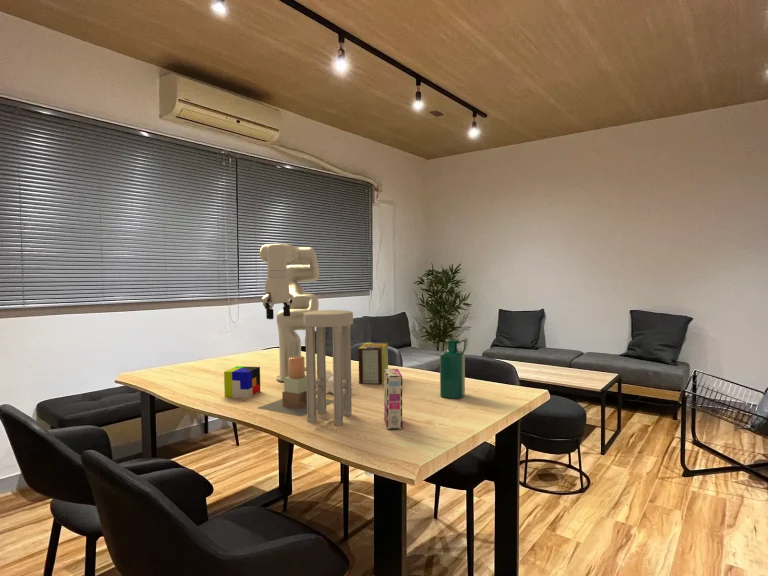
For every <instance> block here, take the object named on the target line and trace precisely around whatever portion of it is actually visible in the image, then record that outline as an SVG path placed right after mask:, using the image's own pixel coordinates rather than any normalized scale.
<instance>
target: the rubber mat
mask: <svg viewBox="0 0 768 576" xmlns="http://www.w3.org/2000/svg"><path fill="white" fill-rule="evenodd" d="M331 404H334V399H333V400H331V399H327V398H326V407H327V406H329V405H331ZM257 409H259V410H260V409H261V410H265V411H271V412H275V413H281V414H285V415H292V416H296V417H303V416H305V415H306V416H307V406H304V407H302V408H299V409H298V408H292V407H287V406H283V398H281V399H278V400H276V401H273V402H270V403H266V404H264V405H262V406H259V407H257ZM316 411H318V402H317V397H316Z"/></svg>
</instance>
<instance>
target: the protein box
mask: <svg viewBox="0 0 768 576" xmlns="http://www.w3.org/2000/svg"><path fill="white" fill-rule="evenodd" d="M388 345H389V344H388V342H365V343H363V344H362V345H361V346H359V347H358V350H357V351H358V352H357V354H358V384H360V385H362V384H363V385H384V369H389V352H388V351H389V346H388Z"/></svg>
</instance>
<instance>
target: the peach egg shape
mask: <svg viewBox="0 0 768 576" xmlns="http://www.w3.org/2000/svg"><path fill="white" fill-rule="evenodd" d="M305 367H306V360H305V356H302V355H301V356H293V357H289V378H291V379H299V378H304V377H305V375H306V373H305V372H306V371H305Z"/></svg>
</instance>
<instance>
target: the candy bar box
mask: <svg viewBox="0 0 768 576" xmlns="http://www.w3.org/2000/svg"><path fill="white" fill-rule="evenodd" d="M383 385H384V388H383V389H384V390H383V400H384V403H383V406H384V408H383V410H384V411H383V414H384V419H383V420H384V422H385V426H386V429H387V430H402V429H403V375H402V374H401V371H400V370H399V369H398V368H388V369H384V382H383Z"/></svg>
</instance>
